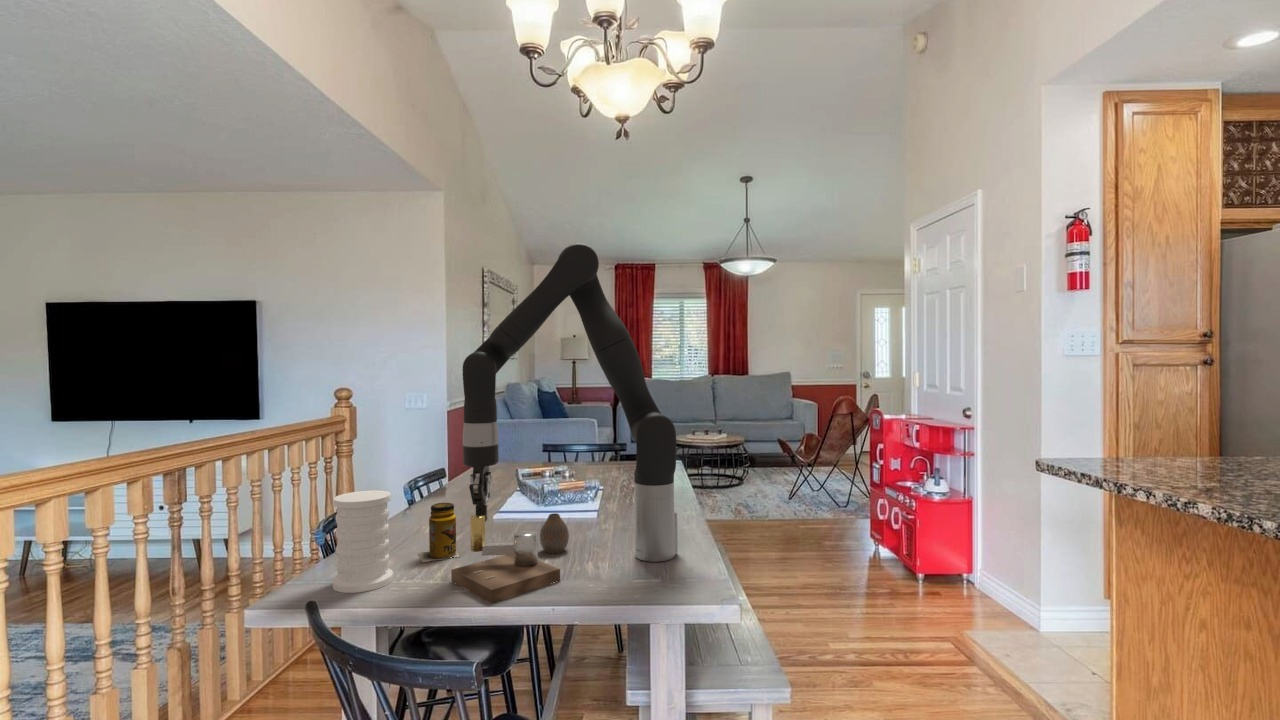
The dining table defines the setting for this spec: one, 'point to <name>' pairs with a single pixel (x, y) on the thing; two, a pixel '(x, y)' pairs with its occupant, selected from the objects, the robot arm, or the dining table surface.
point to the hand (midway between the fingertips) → (481, 521)
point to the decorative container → (362, 541)
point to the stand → (503, 577)
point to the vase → (554, 534)
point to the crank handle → (520, 548)
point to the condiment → (441, 533)
